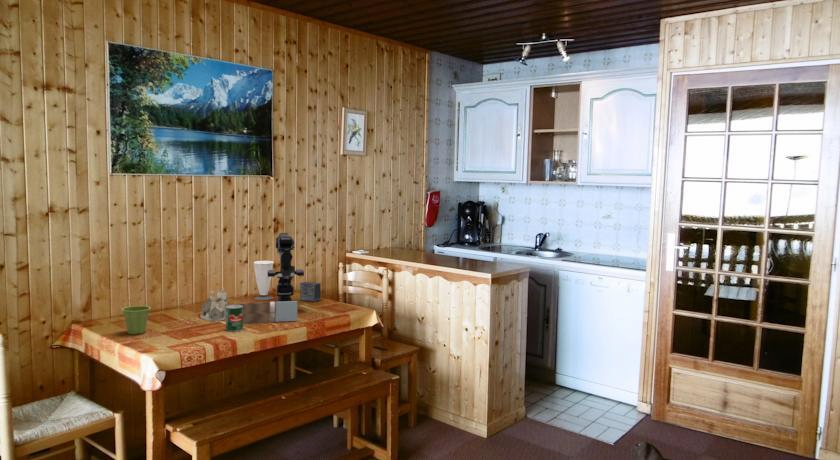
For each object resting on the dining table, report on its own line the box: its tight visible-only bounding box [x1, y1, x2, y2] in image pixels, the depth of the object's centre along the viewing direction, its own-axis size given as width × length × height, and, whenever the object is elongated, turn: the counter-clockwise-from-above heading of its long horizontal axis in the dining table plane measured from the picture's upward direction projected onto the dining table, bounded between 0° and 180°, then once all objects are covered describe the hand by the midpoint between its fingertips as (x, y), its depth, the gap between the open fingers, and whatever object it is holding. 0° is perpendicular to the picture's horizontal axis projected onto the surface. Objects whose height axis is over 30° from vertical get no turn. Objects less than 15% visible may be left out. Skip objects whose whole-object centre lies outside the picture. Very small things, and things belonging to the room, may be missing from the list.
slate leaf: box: [269, 300, 298, 323], centre depth 296 cm, size 13×2×10 cm, turn 104°
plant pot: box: [121, 305, 151, 335], centre depth 271 cm, size 12×12×11 cm
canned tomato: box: [225, 304, 244, 332], centre depth 280 cm, size 8×8×11 cm
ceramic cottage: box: [199, 287, 229, 322], centre depth 302 cm, size 16×16×15 cm
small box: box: [299, 281, 322, 303], centre depth 348 cm, size 11×6×10 cm, turn 65°
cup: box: [253, 260, 275, 301], centre depth 352 cm, size 12×12×22 cm
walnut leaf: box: [238, 301, 276, 325], centre depth 293 cm, size 17×2×10 cm, turn 106°
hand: (285, 289), depth 319 cm, fingers closed
